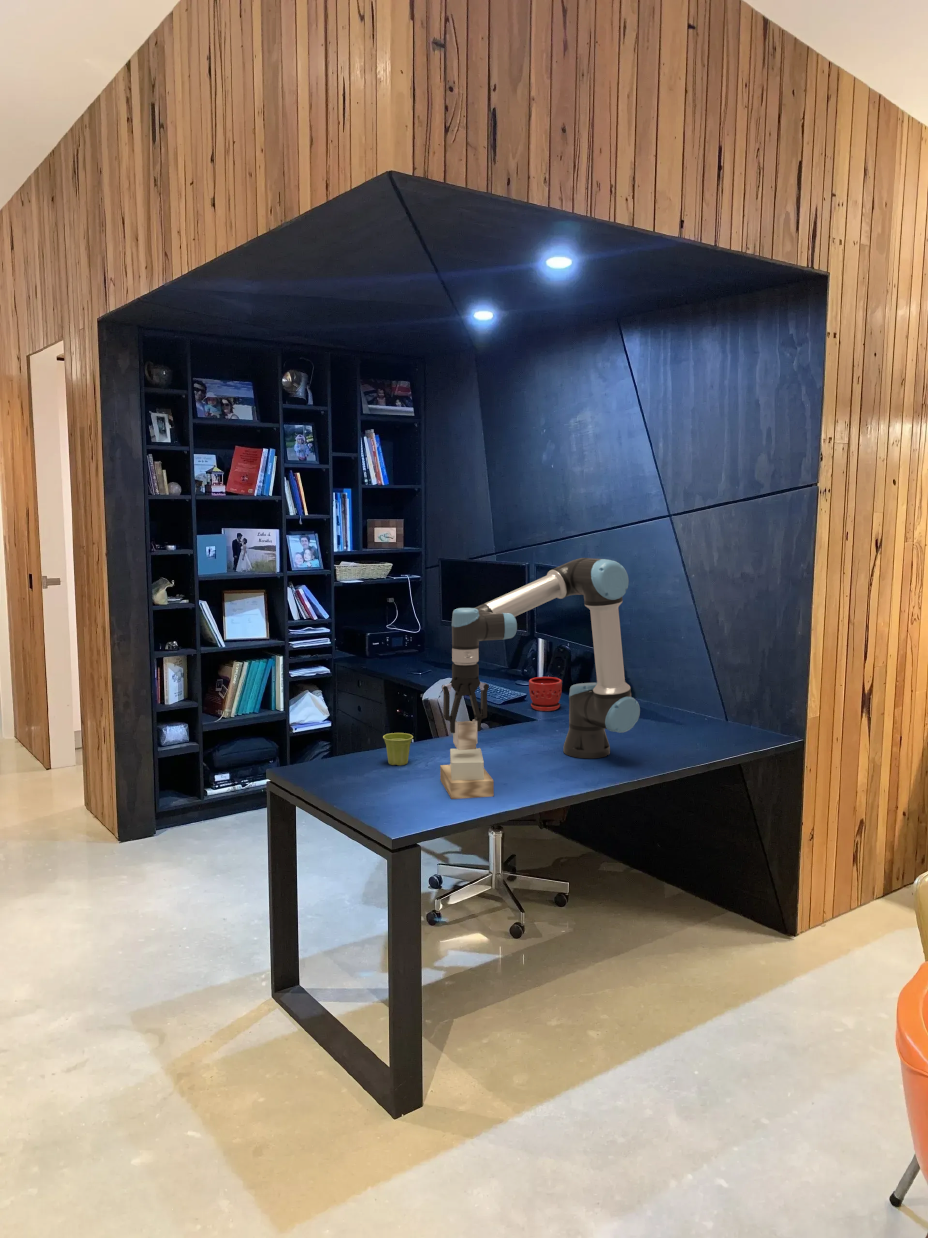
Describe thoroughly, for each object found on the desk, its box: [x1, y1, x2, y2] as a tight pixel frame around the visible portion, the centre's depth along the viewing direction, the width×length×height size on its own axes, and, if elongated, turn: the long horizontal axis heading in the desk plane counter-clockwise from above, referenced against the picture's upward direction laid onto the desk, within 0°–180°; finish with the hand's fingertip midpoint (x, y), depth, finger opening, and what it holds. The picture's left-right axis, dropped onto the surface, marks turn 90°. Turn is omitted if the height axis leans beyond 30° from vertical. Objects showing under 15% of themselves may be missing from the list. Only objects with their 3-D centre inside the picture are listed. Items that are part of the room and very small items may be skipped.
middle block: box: [449, 747, 485, 780], centre depth 262 cm, size 9×15×5 cm, turn 2°
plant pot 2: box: [528, 676, 563, 712], centre depth 364 cm, size 13×13×12 cm
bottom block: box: [439, 764, 495, 800], centre depth 262 cm, size 12×18×5 cm, turn 11°
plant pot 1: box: [382, 732, 414, 767], centre depth 287 cm, size 9×9×9 cm
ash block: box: [454, 720, 477, 750], centre depth 261 cm, size 5×5×7 cm
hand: (465, 743), depth 261 cm, fingers closed on ash block, 5 cm apart
